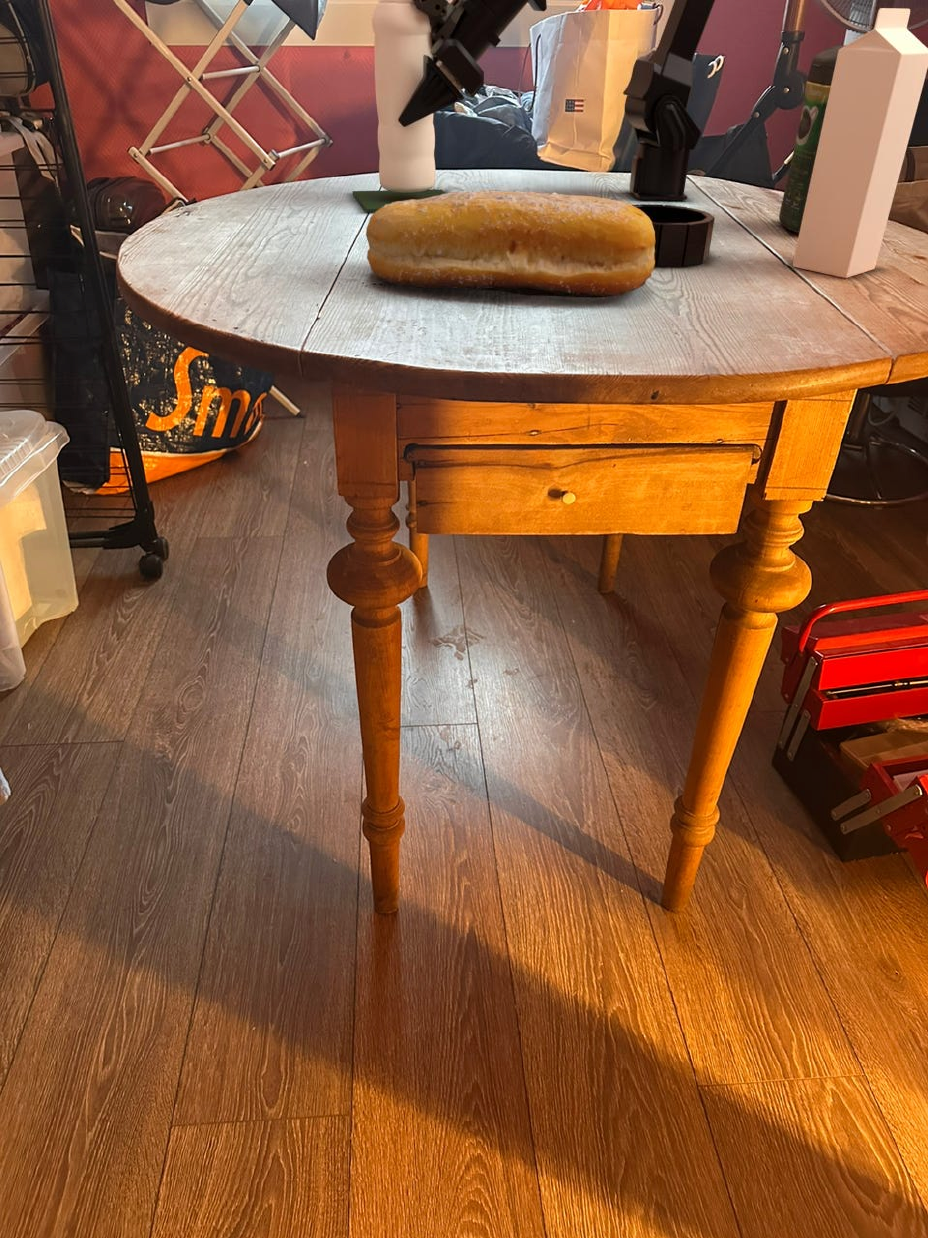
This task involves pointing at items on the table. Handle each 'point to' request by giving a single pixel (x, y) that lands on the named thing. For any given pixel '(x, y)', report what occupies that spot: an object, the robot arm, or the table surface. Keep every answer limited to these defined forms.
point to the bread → (513, 243)
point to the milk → (862, 147)
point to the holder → (679, 234)
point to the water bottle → (402, 96)
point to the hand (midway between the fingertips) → (395, 120)
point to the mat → (389, 197)
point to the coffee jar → (808, 138)
